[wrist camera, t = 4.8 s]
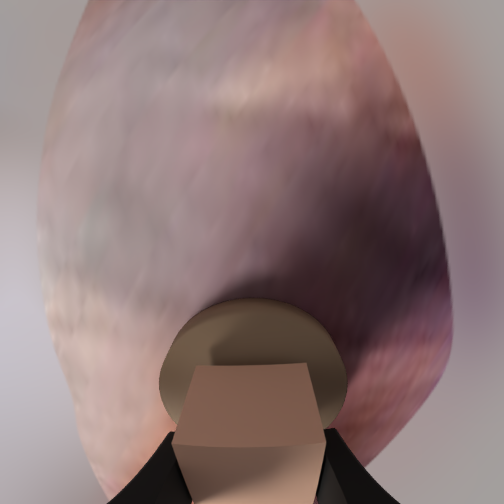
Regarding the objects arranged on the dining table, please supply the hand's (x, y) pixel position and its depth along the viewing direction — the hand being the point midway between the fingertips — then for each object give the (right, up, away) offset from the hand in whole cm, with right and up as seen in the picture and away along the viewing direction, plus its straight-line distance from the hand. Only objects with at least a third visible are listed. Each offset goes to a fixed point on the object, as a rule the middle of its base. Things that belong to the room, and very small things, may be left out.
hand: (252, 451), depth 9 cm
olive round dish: (0, +1, +5) cm, 5 cm away
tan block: (0, +1, +2) cm, 2 cm away
